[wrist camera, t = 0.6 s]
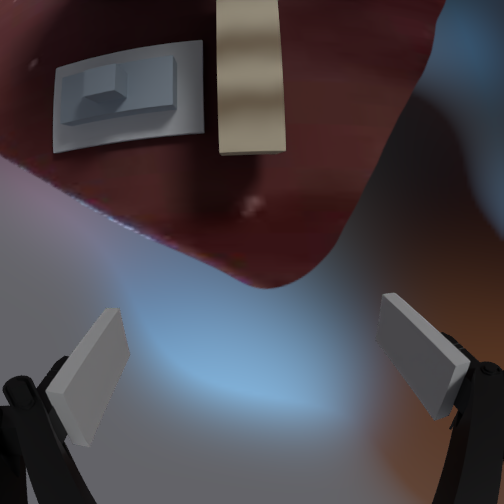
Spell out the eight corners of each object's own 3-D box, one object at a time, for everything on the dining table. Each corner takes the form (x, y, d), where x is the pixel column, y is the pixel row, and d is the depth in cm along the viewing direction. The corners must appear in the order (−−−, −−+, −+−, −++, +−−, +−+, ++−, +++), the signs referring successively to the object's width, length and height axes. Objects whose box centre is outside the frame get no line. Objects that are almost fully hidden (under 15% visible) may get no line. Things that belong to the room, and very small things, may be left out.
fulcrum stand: (60, 70, 31) (28, 54, 23) (203, 43, 32) (196, 14, 24) (57, 153, 34) (22, 152, 26) (204, 133, 35) (197, 123, 27)
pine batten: (218, -12, 27) (216, -38, 22) (268, -12, 28) (273, -38, 22) (221, 155, 33) (219, 152, 27) (276, 154, 33) (285, 150, 28)
